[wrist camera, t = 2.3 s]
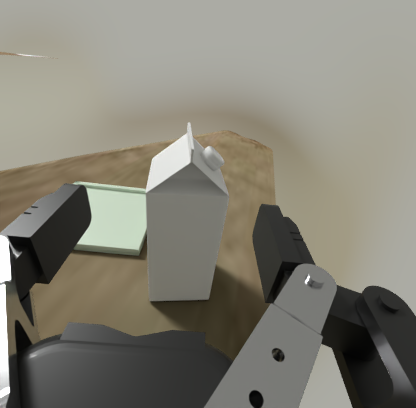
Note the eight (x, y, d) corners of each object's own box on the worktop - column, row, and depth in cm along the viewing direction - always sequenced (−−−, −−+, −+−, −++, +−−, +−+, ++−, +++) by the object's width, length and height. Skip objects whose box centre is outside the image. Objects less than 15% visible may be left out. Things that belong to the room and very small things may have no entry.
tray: (20, 244, 32) (18, 237, 31) (77, 186, 45) (75, 181, 45) (138, 255, 33) (138, 249, 32) (160, 195, 46) (160, 190, 46)
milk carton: (148, 302, 27) (143, 145, 17) (153, 256, 33) (151, 118, 23) (208, 301, 28) (239, 152, 18) (203, 257, 34) (224, 125, 24)
